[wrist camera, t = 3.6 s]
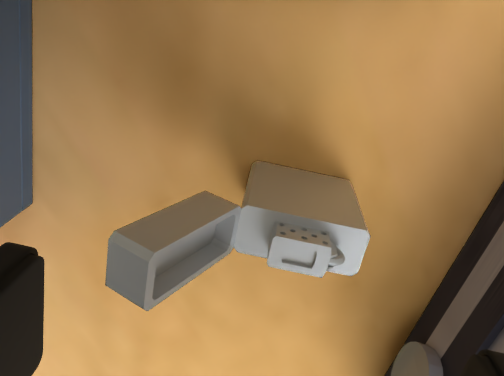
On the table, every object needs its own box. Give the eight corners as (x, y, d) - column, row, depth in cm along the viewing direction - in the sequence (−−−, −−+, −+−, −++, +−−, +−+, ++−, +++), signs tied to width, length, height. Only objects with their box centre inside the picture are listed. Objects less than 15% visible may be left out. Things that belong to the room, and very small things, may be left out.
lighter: (353, 180, 17) (400, 308, 10) (341, 218, 18) (377, 364, 11) (180, 144, 17) (99, 245, 10) (175, 182, 18) (95, 304, 11)
